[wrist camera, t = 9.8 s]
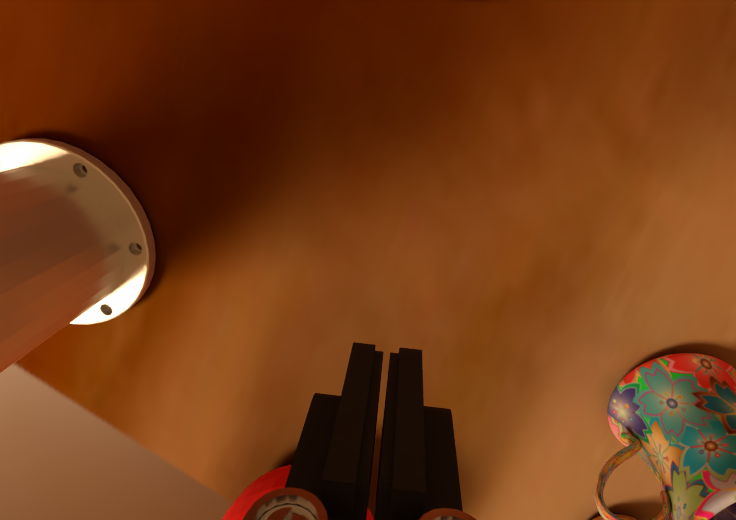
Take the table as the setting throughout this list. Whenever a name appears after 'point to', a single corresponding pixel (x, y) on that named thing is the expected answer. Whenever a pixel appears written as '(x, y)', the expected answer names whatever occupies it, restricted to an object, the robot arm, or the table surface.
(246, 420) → the table surface
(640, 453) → the mug
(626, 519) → the plastic bottle
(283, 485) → the tomato
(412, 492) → the robot arm
